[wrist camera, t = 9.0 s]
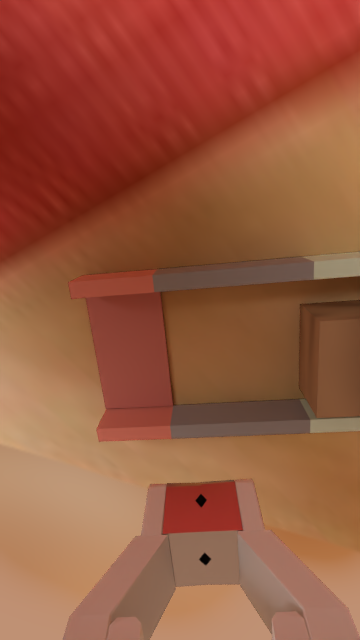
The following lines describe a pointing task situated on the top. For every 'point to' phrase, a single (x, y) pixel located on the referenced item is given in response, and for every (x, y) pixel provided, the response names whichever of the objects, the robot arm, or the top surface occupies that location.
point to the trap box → (152, 360)
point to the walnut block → (330, 358)
